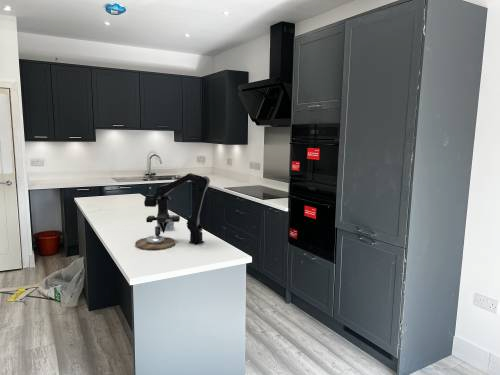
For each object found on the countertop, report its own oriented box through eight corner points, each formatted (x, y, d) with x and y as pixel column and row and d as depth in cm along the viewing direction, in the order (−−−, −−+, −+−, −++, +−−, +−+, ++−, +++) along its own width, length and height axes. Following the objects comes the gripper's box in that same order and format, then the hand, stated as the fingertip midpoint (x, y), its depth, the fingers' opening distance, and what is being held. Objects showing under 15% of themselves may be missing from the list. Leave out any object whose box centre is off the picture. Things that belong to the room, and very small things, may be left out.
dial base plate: (182, 243, 221) (182, 240, 220) (156, 252, 201) (156, 249, 201) (154, 237, 231) (154, 234, 231) (126, 246, 212) (126, 243, 212)
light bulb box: (157, 231, 244) (157, 215, 242) (157, 229, 250) (156, 213, 249) (174, 230, 247) (174, 214, 245) (173, 228, 253) (173, 212, 252)
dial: (163, 244, 211) (162, 232, 210) (144, 243, 211) (144, 232, 210) (166, 236, 226) (166, 226, 225) (149, 236, 225) (149, 226, 224)
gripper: (143, 210, 213) (144, 237, 215) (177, 209, 214) (178, 236, 216) (147, 206, 224) (148, 231, 226) (179, 205, 225) (180, 231, 227)
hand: (163, 233), depth 224 cm, fingers closed
